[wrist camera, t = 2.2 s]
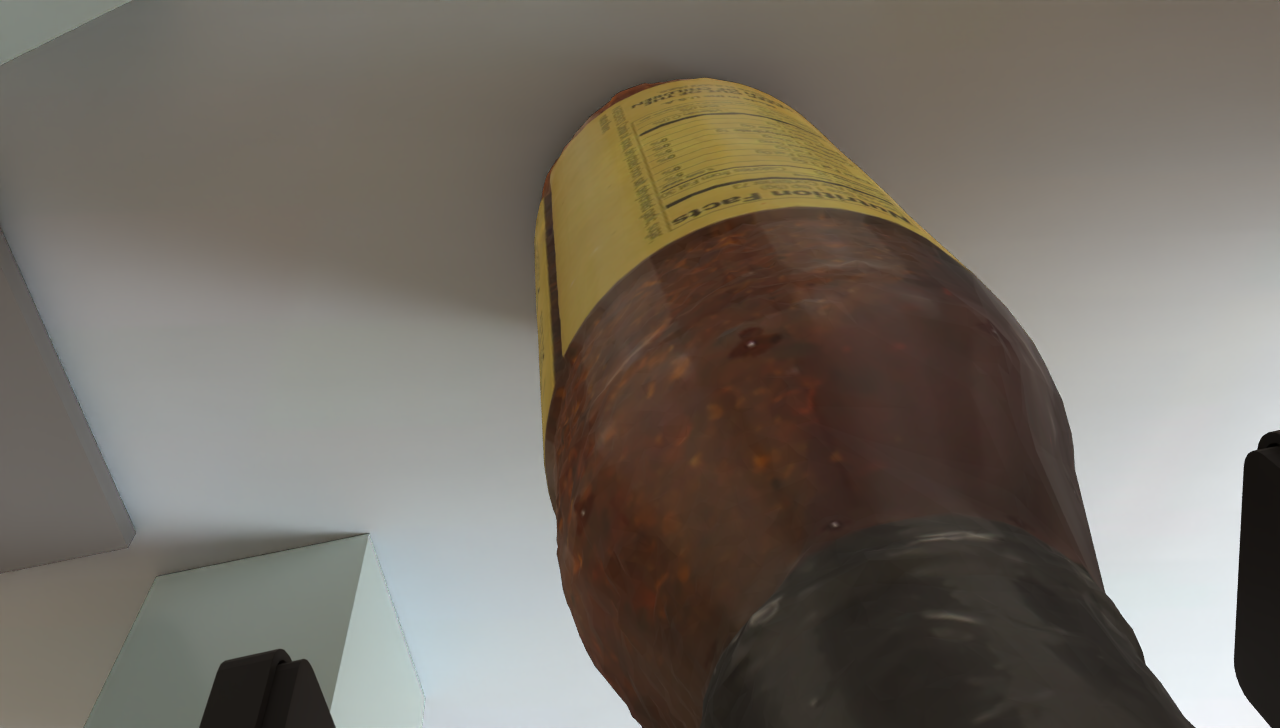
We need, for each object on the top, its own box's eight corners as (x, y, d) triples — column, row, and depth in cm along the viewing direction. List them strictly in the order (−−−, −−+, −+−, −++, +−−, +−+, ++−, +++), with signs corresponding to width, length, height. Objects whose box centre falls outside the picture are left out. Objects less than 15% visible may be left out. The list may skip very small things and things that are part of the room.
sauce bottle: (751, 386, 26) (1212, 1612, 9) (487, 287, 25) (379, 1528, 7) (893, 119, 24) (1945, 1037, 6) (612, -10, 23) (930, 718, 5)
